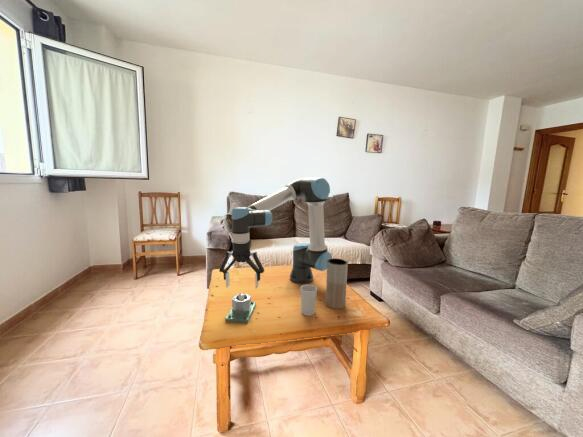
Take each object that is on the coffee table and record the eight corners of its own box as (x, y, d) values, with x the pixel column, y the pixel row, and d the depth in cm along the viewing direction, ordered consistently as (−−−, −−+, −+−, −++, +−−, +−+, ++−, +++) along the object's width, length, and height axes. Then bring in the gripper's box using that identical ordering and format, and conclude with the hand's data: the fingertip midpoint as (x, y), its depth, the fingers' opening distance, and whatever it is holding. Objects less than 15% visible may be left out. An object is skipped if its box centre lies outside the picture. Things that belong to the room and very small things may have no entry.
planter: (321, 304, 121) (323, 260, 118) (332, 297, 128) (334, 257, 125) (338, 311, 114) (340, 265, 111) (349, 304, 121) (351, 261, 118)
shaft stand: (255, 304, 118) (255, 287, 117) (247, 322, 103) (247, 303, 101) (236, 303, 119) (235, 286, 118) (225, 321, 103) (225, 302, 102)
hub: (252, 305, 114) (252, 294, 114) (248, 314, 106) (248, 302, 106) (235, 305, 115) (235, 293, 114) (230, 313, 107) (230, 301, 106)
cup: (302, 317, 108) (303, 292, 106) (297, 308, 116) (298, 285, 114) (318, 315, 110) (320, 290, 109) (312, 306, 118) (313, 283, 116)
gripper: (270, 240, 109) (270, 284, 112) (217, 239, 111) (218, 282, 114) (267, 244, 102) (267, 291, 105) (210, 243, 104) (212, 289, 107)
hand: (242, 286), depth 110 cm, fingers open, 13 cm apart
